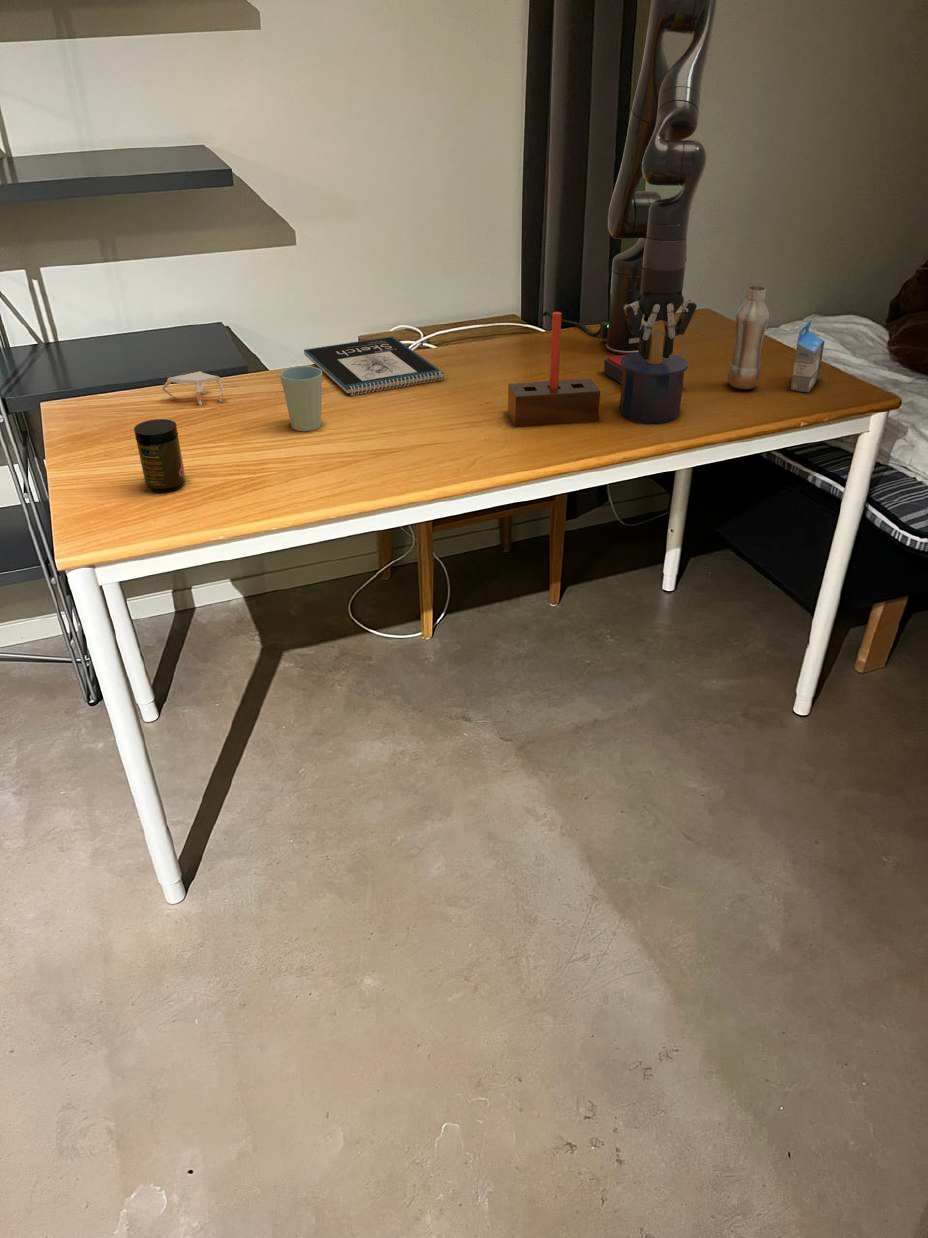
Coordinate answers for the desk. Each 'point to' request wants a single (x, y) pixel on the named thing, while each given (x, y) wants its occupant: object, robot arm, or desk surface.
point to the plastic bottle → (749, 339)
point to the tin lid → (654, 359)
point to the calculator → (615, 368)
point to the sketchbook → (372, 365)
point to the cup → (303, 396)
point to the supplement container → (160, 455)
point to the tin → (650, 397)
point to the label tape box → (807, 360)
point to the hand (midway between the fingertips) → (654, 357)
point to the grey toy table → (195, 379)
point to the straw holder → (553, 402)
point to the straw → (555, 350)
